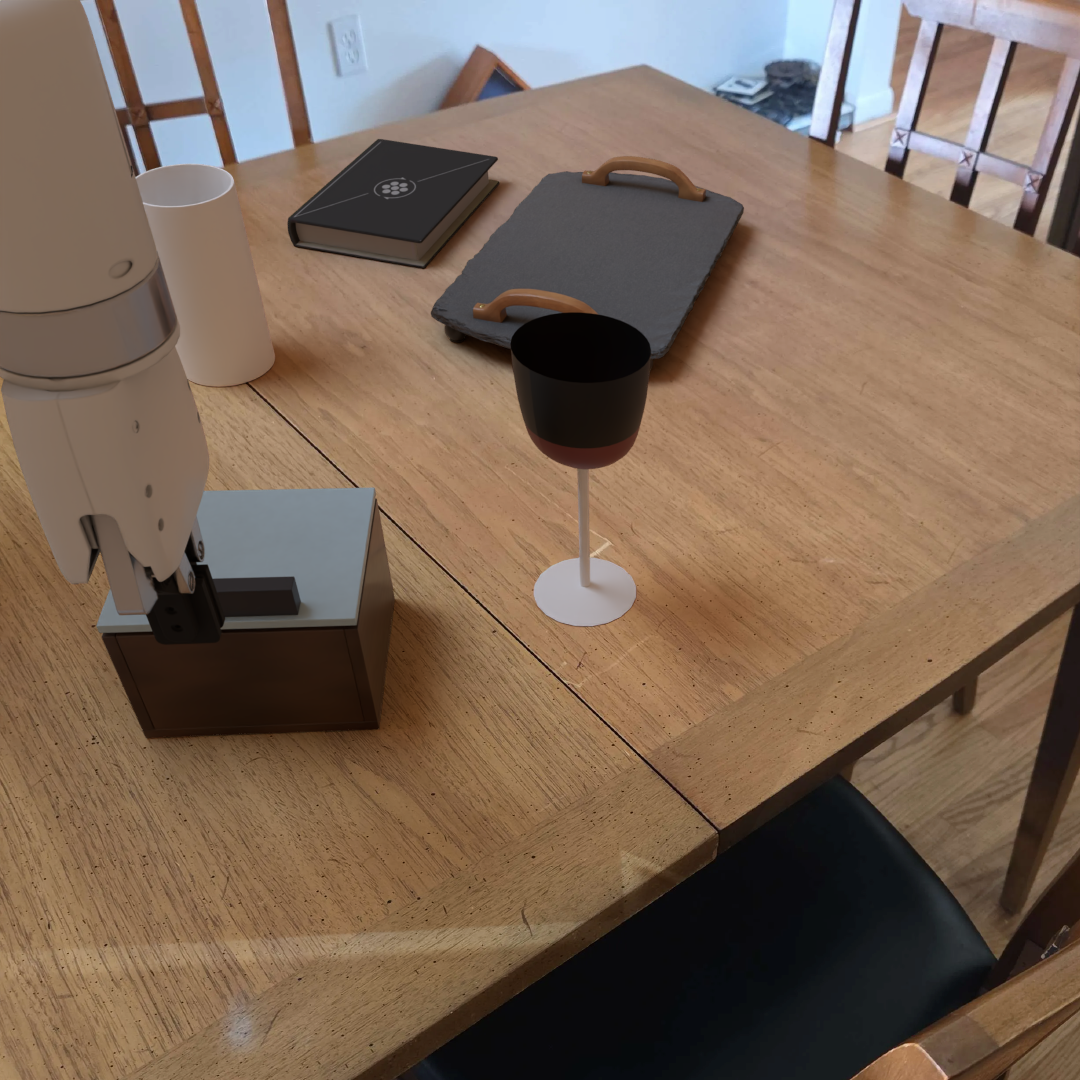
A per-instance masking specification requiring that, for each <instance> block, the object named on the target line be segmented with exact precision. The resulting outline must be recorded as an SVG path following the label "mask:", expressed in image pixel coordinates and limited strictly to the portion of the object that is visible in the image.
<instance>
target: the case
mask: <svg viewBox="0 0 1080 1080" xmlns="http://www.w3.org/2000/svg"><path fill="white" fill-rule="evenodd" d="M381 519H382V518H381V514H380V508H379V503H378V499H377V497H376V498H375V505H374V512H373V519H372V525H371V532H370V539H369V545H368V552H367V559H366V566H365V572H364V579H363V586H362V593H361V599H360V606H359V613H358V620H357V625H350V626H317V627H283V628H250V629H221V631H222V633H221V636H220V640H219V641H218V642H216V643H199V644H170V645H164V644H160V643H158V642H157V641H156V639H155V637H154V634H153V632H152V631H150V632H116V633H101V640H102V642H103V644H104V647H105V649H106V651H107V653H108V656H109V658H110V661H111V662H112V665H113V667H114V669H115V672H116V674H117V676H118V678H119V681H120V683H121V685H122V687H123V689H124V692H125V695H126V697H127V699H128V702H129V704H130V706H131V708H132V710H133V712H134V714H135V717H136V719H137V722H138V723H139V726H140V728H141V730H142V733H143V736H144V738H145V739H156V738H157V739H159V738H160V739H161V738H162V739H163V738H184V737H186V738H187V737H188V738H189V737H210V736H211V737H213V736H240V735H263V734H265V735H266V734H267V735H269V734H290V733H292V734H293V733H316V732H317V733H319V732H343V731H344V732H345V731H346V732H347V731H368V730H369V731H370V730H371V731H372V730H380V727H381V716H382V709H383V700H384V692H385V683H386V677H387V676H386V674H387V667H388V659H389V651H390V641H391V633H392V624H393V616H394V607H395V601H396V600H395V591H394V586H393V581H392V575H391V569H390V564H389V558H388V553H387V547H386V541H385V536H384V531H383V524H382V520H381Z"/></svg>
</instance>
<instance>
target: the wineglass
mask: <svg viewBox="0 0 1080 1080" xmlns="http://www.w3.org/2000/svg"><path fill="white" fill-rule="evenodd" d="M510 354H511V355H510V356H511V363H512V364H511V365H512V373H513V378H514V386H515V391H516V395H517V401H518V404H519V409H520V413H521V417H522V419H523V423H524V426H525V428H526V431H527V434H528V436H529V438H530V439H531V442H532V443H533V445H534V446H535V447H536V448H537V449H538V450H539V451H540V452H541V453H542V454H543V455H545V456H546V457H548V458H549V459H551V460H552V461H554V462H556V463H558V464H561V465H563V466H566V467H569V468H572V469H576V471H577V510H578V511H577V512H578V513H577V517H578V557H573V558H569V559H564V560H561V561H559V562H557V563H554V564H552V565H550V566H549V567H547V568H546V569H545V570H544V571H542V572H541V573H540V575H539V576H538V578H537V579H536V581H535V583H534V587H533V598H534V600H535V603H536V605H537V607H538V608H539V609H540V611H542V612H543V614H544V615H546V616H547V617H549V618H551V619H553V620H555V621H556V622H558V623H562V624H565V625H570V626H573V627H595V626H599V625H604V624H608V623H610V622H613V621H615V620H617V619H620V618H621V617H622V616H624V615H625V614H626V613H627V612H628V611H629V610H631V608H632V606H633V604H634V602H635V600H636V599H637V585H636V583H635V580H634V579H633V577H632V575H631V574H630V573H629V572H628V571H627V570H626V569H625V568H623V567H622V566H620V565H618V564H616V563H614V562H612V561H610V560H606V559H602V558H597V557H591V539H590V536H591V535H590V532H591V531H590V470H595V469H596V470H597V469H600V468H605V467H608V466H611V465H613V464H616V463H617V462H619V461H621V459H623V458H625V457H626V455H627V454H628V453H629V452H630V450H631V449H632V448H633V446H634V445H635V442H636V440H637V437H638V435H639V431H640V428H641V423H642V420H643V416H644V412H645V407H646V403H647V398H648V388H649V383H650V372H651V370H650V361H651V347H650V343H649V342H648V340H647V338H646V337H645V336H644V335H643V334H642V333H641V332H640V331H639V330H637V329H636V328H634V327H633V326H631V325H629V324H627V323H625V322H623V321H621V320H618V319H615V318H612V317H608V316H604V315H598V314H592V313H581V312H568V313H557V314H550V315H546V316H542V317H539V318H536V319H533V320H531V321H529V322H527V323H525V324H524V325H522V326H521V327H520V328H518V330H517V331H516V332H515V333H514V335H513V336H512V339H511V349H510Z"/></svg>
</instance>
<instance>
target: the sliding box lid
mask: <svg viewBox="0 0 1080 1080" xmlns="http://www.w3.org/2000/svg"><path fill="white" fill-rule="evenodd" d="M375 498H376V499H377V491H376V488H375V487H373V486H372V487H332V488H331V487H329V488H328V487H327V488H326V487H324V488H323V487H321V488H277V489H274V488H273V489H230V490H229V489H227V490H225V489H224V490H223V489H221V490H219V489H218V490H204V492H203V495H202V499H201V502H200V505H199V508H198V511H197V515H196V516H197V520H198V523H199V527H200V531H201V535H202V539H203V543H204V547H205V558H204V561H203V562H196V563H197V565H203V564H208V567H209V570H210V573H211V576H212V579H213V582H214V585H215V588H216V591H217V594H218V597H219V600H220V603H221V606H222V609H223V612H224V615H225V621H224V625H223V627H222V628H221V629H250V628H283V627H317V626H350V625H357V620H358V613H359V606H360V599H361V593H362V586H363V579H364V572H365V566H366V559H367V552H368V545H369V539H370V532H371V525H372V519H373V512H374V505H375ZM96 630H97V631H98V633H99V634H103V633H116V632H150V631H152V629H151V627H150V624H149V622H148V619H147V617H146V614H144V615H119V614H118V613H117V610H116V607H115V603H114V599H113V596H112V592H111V588H110V587H109V590H108V593H107V595H106V598H105V600H104V603H103V607H102V609H101V611H100V614H99V617H98V620H97V623H96Z"/></svg>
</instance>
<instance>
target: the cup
mask: <svg viewBox="0 0 1080 1080" xmlns="http://www.w3.org/2000/svg"><path fill="white" fill-rule="evenodd" d="M135 178H136V181H137V184H138V188H139V191H140V195H141V198H142V201H143V205H144V208H145V211H146V215H147V218H148V221H149V225H150V228H151V232H152V235H153V238H154V242H155V245H156V249H157V252H158V255H159V258H160V262H161V265H162V269H163V272H164V275H165V279H166V282H167V285H168V289H169V292H170V295H171V299H172V302H173V305H174V309H175V313H176V316H177V319H178V322H179V325H180V337H179V339H178V342H177V344H176V346H175V347H176V350H177V352H178V355H179V357H180V360H181V363H182V365H183V368H184V371H185V374H186V376H187V379H188V381H190V382H192V383H194V384H197V385H201V386H205V387H216V388H217V387H230V386H231V387H232V386H238V385H241V384H246V383H248V382H252V381H254V380H256V379H258V378H260V377H261V376H263V375H265V374H267V372H268V371H270V369H271V368H272V367H273V366H274V364H275V361H276V353H275V350H274V349H275V348H274V344H273V341H272V337H271V332H270V328H269V323H268V319H267V316H266V311H265V306H264V302H263V298H262V293H261V289H260V285H259V280H258V277H257V272H256V268H255V263H254V258H253V254H252V251H251V250H252V249H251V246H250V241H249V237H248V233H247V229H246V228H247V227H246V224H245V219H244V216H243V212H242V211H243V210H242V208H241V202H240V199H239V195H238V190H237V185H236V183H235V180H234V177H233V175H232V174H231V173H230V172H228V171H227V170H225V169H223V168H221V167H218V166H215V165H210V164H204V163H203V164H202V163H177V164H170V165H169V164H167V165H164V166H159V167H156V168H152V169H149V170H146V171H144V172H142V173H140V174H138V175H137V176H135Z"/></svg>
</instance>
